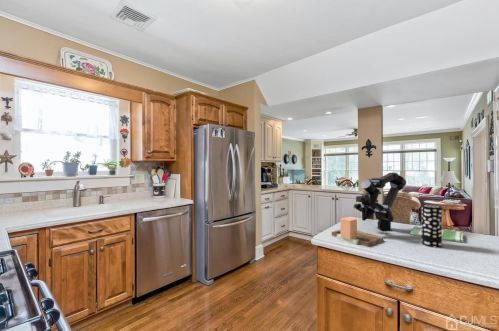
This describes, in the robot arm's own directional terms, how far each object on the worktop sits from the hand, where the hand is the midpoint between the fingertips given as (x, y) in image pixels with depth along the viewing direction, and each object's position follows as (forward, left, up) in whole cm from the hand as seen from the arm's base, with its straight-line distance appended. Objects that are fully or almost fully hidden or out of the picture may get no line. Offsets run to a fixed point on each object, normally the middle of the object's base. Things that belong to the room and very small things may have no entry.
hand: (363, 220), depth 137 cm
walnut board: (+6, +4, -9) cm, 11 cm away
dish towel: (-43, -1, -10) cm, 44 cm away
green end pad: (+12, +8, -9) cm, 17 cm away
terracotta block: (+12, +8, -7) cm, 16 cm away
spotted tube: (-28, +15, -9) cm, 33 cm away
